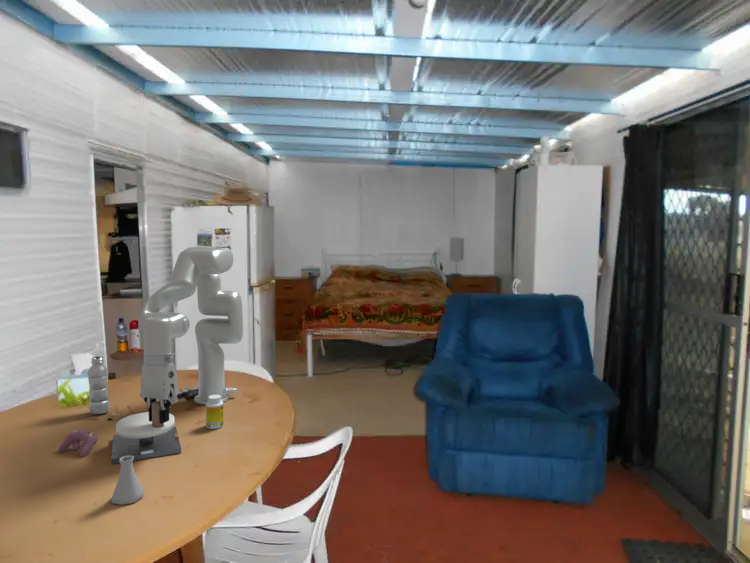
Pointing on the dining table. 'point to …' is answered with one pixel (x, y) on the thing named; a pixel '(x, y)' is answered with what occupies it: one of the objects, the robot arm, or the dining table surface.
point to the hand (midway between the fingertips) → (159, 420)
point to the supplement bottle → (214, 412)
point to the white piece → (144, 424)
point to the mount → (146, 446)
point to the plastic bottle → (98, 386)
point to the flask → (127, 484)
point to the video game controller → (79, 441)
